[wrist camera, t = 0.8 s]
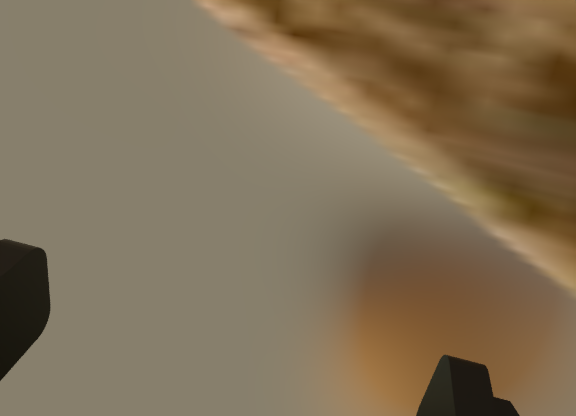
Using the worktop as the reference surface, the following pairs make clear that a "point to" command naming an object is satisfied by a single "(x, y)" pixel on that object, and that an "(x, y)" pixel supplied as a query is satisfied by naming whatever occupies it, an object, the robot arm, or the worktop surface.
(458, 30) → the worktop surface
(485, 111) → the worktop surface
